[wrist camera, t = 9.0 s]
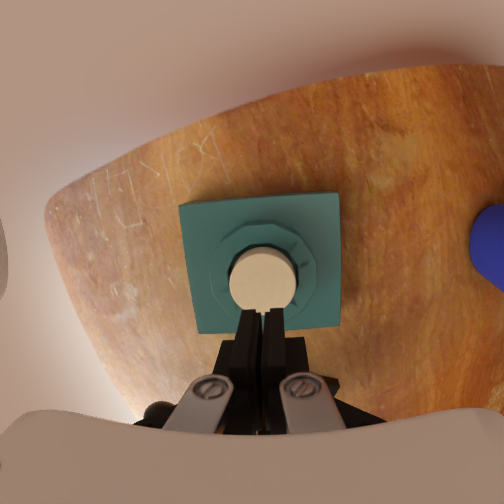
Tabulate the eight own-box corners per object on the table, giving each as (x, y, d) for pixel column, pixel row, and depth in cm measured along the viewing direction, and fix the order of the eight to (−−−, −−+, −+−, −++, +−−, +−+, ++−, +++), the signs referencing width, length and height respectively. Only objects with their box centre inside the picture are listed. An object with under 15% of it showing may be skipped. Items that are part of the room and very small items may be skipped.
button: (236, 305, 20) (233, 317, 18) (229, 248, 19) (225, 255, 17) (295, 302, 20) (297, 313, 18) (292, 244, 19) (294, 250, 17)
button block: (203, 321, 24) (193, 346, 20) (186, 202, 22) (169, 208, 18) (334, 313, 23) (345, 337, 20) (332, 190, 21) (345, 194, 17)
